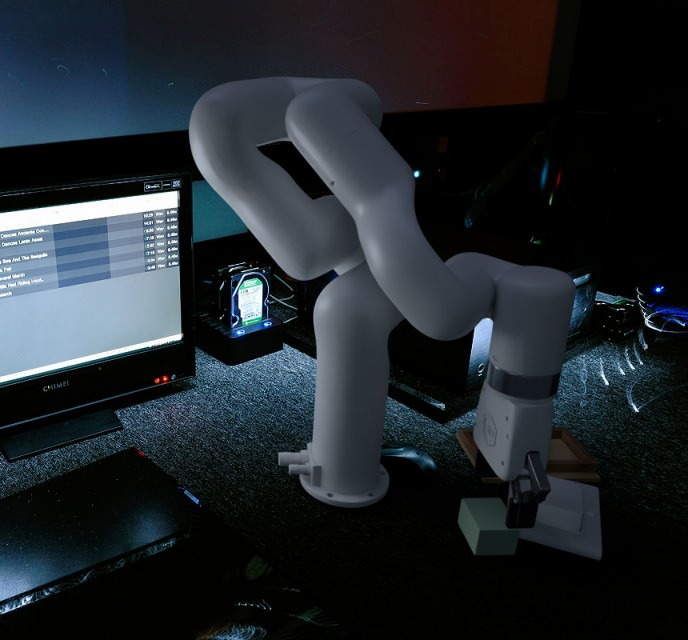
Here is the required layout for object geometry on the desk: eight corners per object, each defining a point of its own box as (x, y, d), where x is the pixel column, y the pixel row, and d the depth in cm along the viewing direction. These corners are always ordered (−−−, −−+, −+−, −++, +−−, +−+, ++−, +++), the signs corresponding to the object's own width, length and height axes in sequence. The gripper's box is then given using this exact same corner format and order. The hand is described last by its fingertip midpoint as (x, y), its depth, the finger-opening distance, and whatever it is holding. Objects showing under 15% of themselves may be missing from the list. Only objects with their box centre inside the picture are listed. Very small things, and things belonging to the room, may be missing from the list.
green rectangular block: (474, 555, 82) (479, 530, 80) (457, 522, 87) (461, 498, 86) (515, 555, 82) (520, 529, 80) (495, 521, 87) (500, 497, 86)
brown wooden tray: (483, 483, 94) (486, 470, 94) (455, 435, 105) (457, 423, 105) (599, 482, 94) (603, 469, 93) (558, 434, 105) (561, 422, 104)
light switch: (509, 514, 83) (515, 450, 93) (503, 537, 85) (510, 473, 95) (608, 541, 79) (603, 471, 89) (599, 564, 81) (595, 494, 91)
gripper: (461, 345, 83) (447, 460, 89) (521, 417, 67) (499, 551, 73) (522, 342, 83) (504, 458, 89) (597, 414, 67) (568, 549, 73)
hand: (502, 500), depth 81 cm, fingers open, 9 cm apart
